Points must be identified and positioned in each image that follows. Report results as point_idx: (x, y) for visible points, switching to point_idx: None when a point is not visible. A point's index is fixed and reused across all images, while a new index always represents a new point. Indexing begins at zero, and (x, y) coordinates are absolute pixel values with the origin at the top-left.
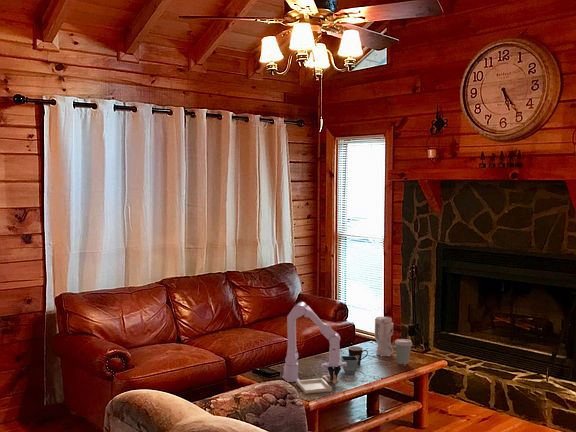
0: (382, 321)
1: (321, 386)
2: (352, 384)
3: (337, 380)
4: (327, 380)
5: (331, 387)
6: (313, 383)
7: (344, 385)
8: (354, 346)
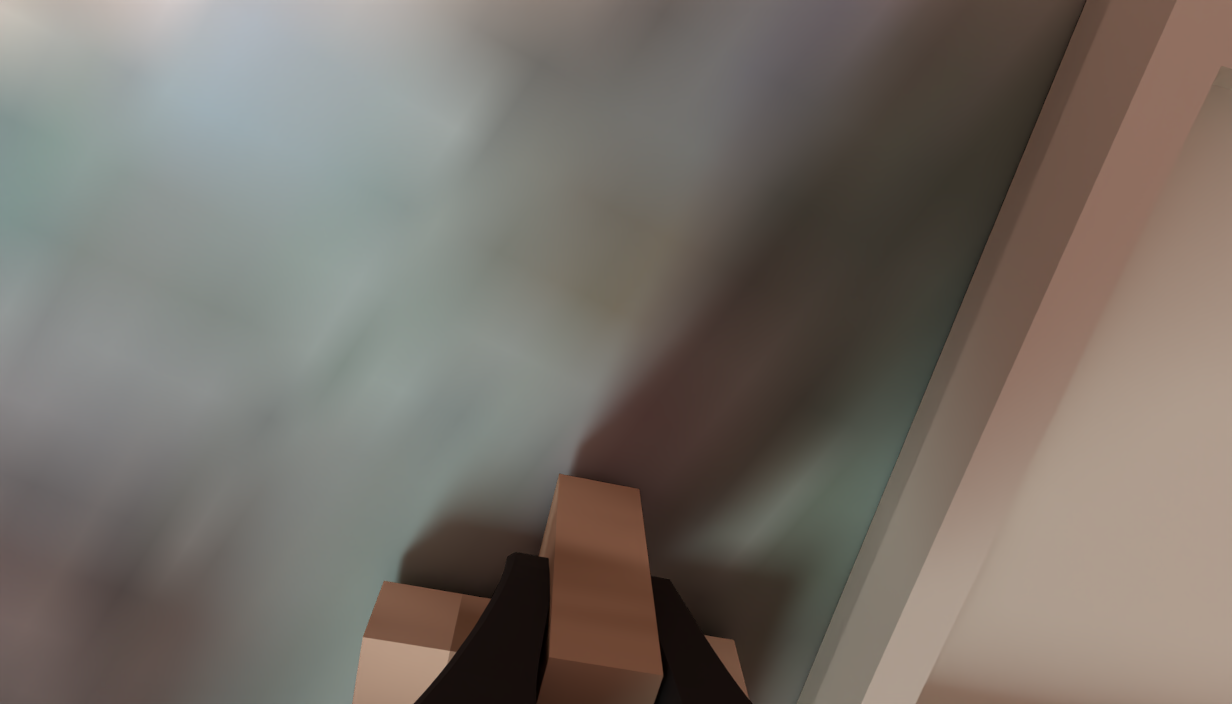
0: None
1: (1122, 426)
2: (57, 203)
3: (407, 600)
4: None
5: (1182, 6)
6: (1118, 679)
7: (373, 250)
8: None
